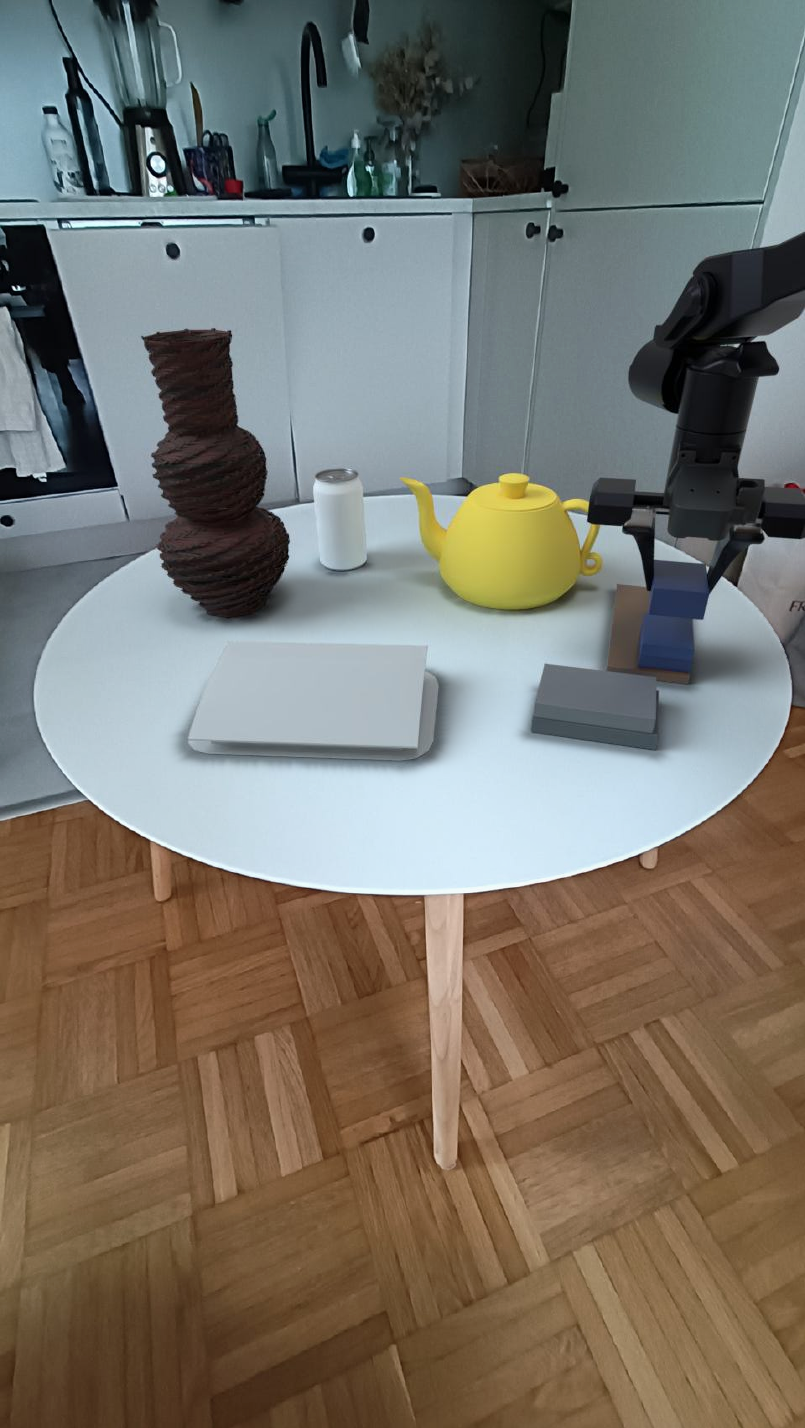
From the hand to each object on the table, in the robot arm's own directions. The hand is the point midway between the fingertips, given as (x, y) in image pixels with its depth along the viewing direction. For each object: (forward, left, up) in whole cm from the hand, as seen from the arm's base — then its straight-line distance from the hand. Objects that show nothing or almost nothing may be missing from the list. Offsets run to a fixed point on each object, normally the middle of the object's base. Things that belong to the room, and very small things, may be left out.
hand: (676, 592), depth 71 cm
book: (+32, +17, -8) cm, 37 cm away
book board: (+2, -6, -8) cm, 10 cm away
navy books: (0, 0, -8) cm, 8 cm away
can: (+42, -17, -8) cm, 46 cm away
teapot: (+20, -15, -8) cm, 26 cm away
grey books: (+6, +12, -8) cm, 16 cm away
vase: (+51, -2, -8) cm, 52 cm away
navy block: (0, 0, -1) cm, 1 cm away
